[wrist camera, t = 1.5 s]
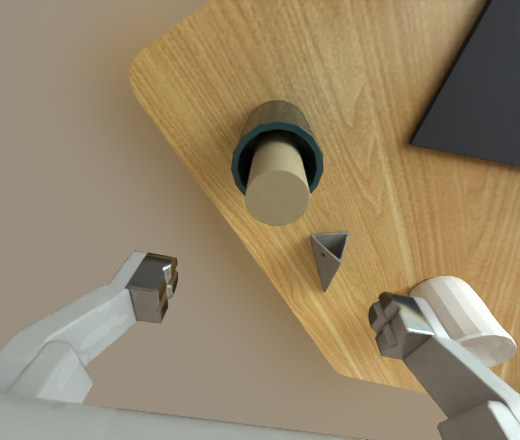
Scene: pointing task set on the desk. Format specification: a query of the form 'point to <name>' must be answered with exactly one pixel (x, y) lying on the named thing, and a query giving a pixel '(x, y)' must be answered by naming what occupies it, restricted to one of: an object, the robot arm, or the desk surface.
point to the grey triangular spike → (328, 254)
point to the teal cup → (270, 119)
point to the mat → (480, 92)
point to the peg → (277, 179)
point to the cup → (467, 319)
